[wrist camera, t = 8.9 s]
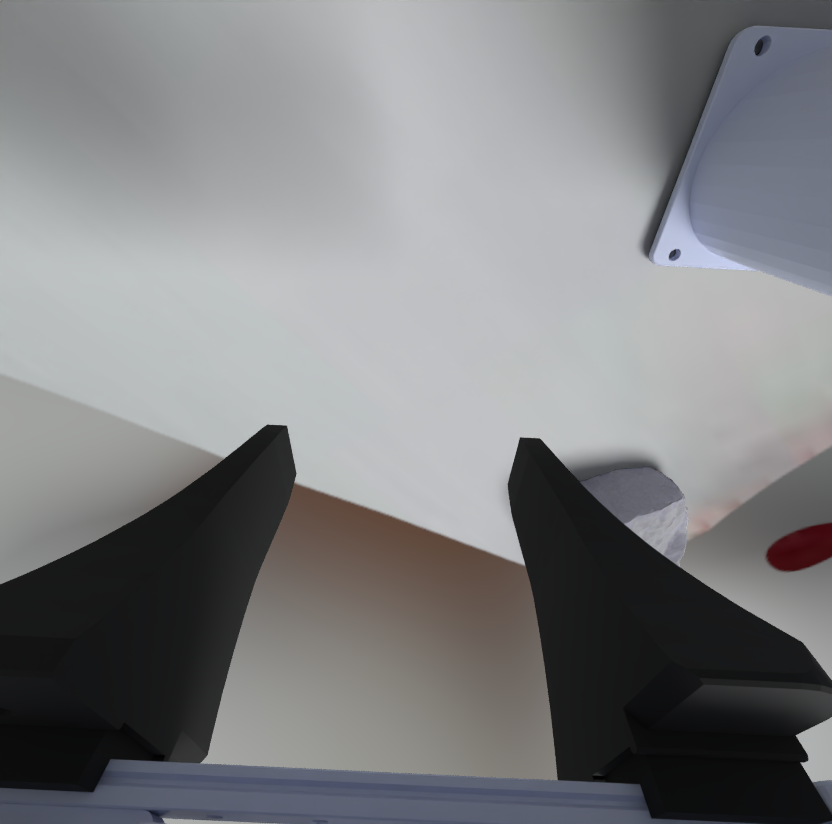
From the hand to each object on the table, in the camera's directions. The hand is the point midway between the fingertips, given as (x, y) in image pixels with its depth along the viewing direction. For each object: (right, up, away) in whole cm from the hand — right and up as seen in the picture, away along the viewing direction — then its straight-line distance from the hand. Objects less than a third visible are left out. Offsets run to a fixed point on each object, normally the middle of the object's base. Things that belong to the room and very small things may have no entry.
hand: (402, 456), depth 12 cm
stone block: (+16, -7, +18) cm, 25 cm away
